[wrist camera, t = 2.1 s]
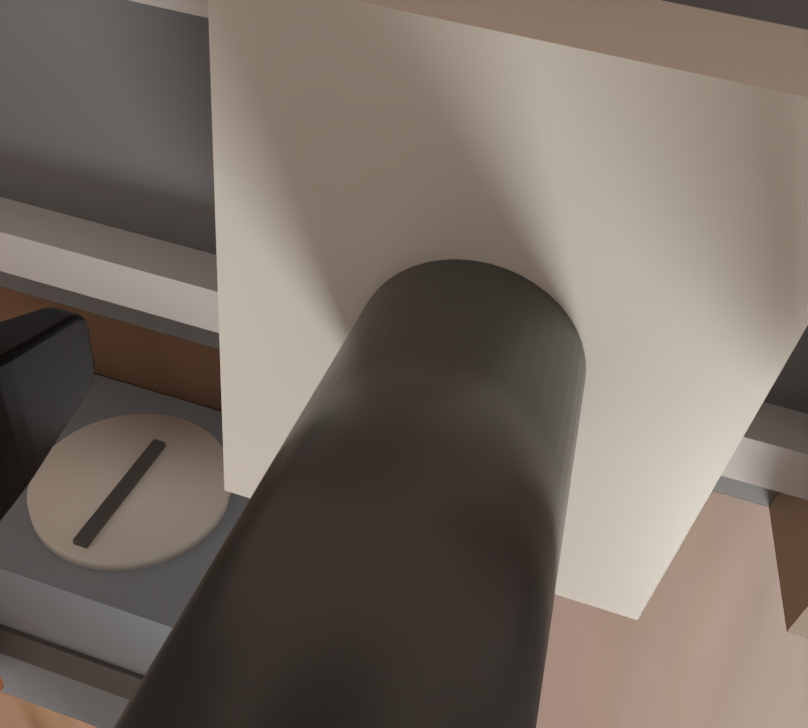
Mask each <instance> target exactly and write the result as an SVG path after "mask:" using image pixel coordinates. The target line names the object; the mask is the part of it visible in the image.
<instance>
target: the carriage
mask: <svg viewBox="0 0 808 728" xmlns="http://www.w3.org/2000/svg"><path fill="white" fill-rule="evenodd" d="M208 18H209V48H210V78H211V107H212V137H213V166H214V196H215V226H216V255H217V285H218V314H219V344H220V374H221V403H222V433H223V462H224V490H225V491H228V492H231V493H235V494H238V495H241V496H244V497H247V498H250V500H249V501H248V503H247V505H246V506H245V508H244V510H243V512H242V513H241V515H240V517H239V518H238V520H237V522H236V523H235V525H234V527H233V528H232V530H231V532H230V533H229V535H228V537H227V538H226V540H225V542H224V543H223V545H222V547H221V548H220V550H219V552H218V553H217V555H216V557H215V558H214V560H213V562H212V563H211V565H210V567H209V568H208V570H207V572H206V573H205V575H204V577H203V578H202V580H201V582H200V583H199V585H198V587H197V588H196V590H195V592H194V593H193V595H192V597H191V598H190V600H189V602H188V603H187V605H186V607H185V608H184V610H183V612H182V613H181V615H180V617H179V618H178V620H177V622H176V623H175V625H174V627H173V628H172V630H171V632H170V633H169V635H168V637H167V638H166V640H165V642H164V643H163V645H162V647H161V648H160V650H159V652H158V654H157V655H156V657H155V659H154V660H153V662H152V664H151V665H150V667H149V669H148V670H147V672H146V674H145V675H144V677H143V679H142V680H141V682H140V684H139V685H138V687H137V689H136V690H135V692H134V694H133V695H132V697H131V699H130V700H129V702H128V704H127V705H126V707H125V709H124V710H123V712H122V714H121V715H120V717H119V719H118V720H117V722H116V724H115V725H114V727H113V728H536V723H537V716H538V709H539V702H540V695H541V688H542V681H543V674H544V667H545V660H546V653H547V646H548V638H549V631H550V624H551V617H552V610H553V603H554V596H555V594H556V595H559V596H562V597H565V598H569V599H572V600H575V601H578V602H581V603H584V604H588V605H591V606H594V607H597V608H600V609H604V610H607V611H610V612H613V613H616V614H619V615H623V616H626V617H629V618H632V619H635V620H638V618H639V616H640V615H641V613H642V611H643V610H644V608H645V606H646V604H647V603H648V601H649V599H650V597H651V596H652V594H653V592H654V590H655V589H656V587H657V585H658V584H659V582H660V580H661V578H662V577H663V575H664V573H665V571H666V570H667V568H668V566H669V565H670V563H671V561H672V559H673V558H674V556H675V554H676V552H677V551H678V549H679V547H680V545H681V544H682V542H683V540H684V539H685V537H686V535H687V533H688V532H689V530H690V528H691V526H692V525H693V523H694V521H695V519H696V518H697V516H698V514H699V513H700V511H701V509H702V507H703V506H704V504H705V502H706V500H707V499H708V497H709V495H710V493H711V492H712V490H713V488H714V487H715V485H716V483H717V481H718V480H719V478H720V476H721V474H722V473H723V471H724V469H725V467H726V466H727V464H728V462H729V461H730V459H731V457H732V455H733V454H734V452H735V450H736V448H737V447H738V445H739V443H740V442H741V440H742V438H743V436H744V435H745V433H746V431H747V429H748V428H749V426H750V424H751V422H752V421H753V419H754V417H755V416H756V414H757V412H758V410H759V409H760V407H761V405H762V403H763V402H764V400H765V398H766V396H767V395H768V393H769V391H770V390H771V388H772V386H773V384H774V383H775V381H776V379H777V377H778V376H779V374H780V372H781V370H782V369H783V367H784V365H785V364H786V362H787V360H788V358H789V357H790V355H791V353H792V351H793V350H794V348H795V346H796V345H797V343H798V341H799V339H800V338H801V336H802V334H803V332H804V331H805V329H806V327H807V325H808V30H806V29H801V28H796V27H791V26H786V25H781V24H777V23H772V22H767V21H762V20H757V19H752V18H747V17H742V16H737V15H732V14H727V13H722V12H717V11H712V10H707V9H702V8H697V7H692V6H687V5H682V4H677V3H672V2H667V1H662V0H208Z"/></svg>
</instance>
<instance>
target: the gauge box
mask: <svg viewBox="0 0 808 728" xmlns="http://www.w3.org/2000/svg"><path fill="white" fill-rule="evenodd" d="M249 500H250V498H247V497H244V496H241V495H238V494H235V493H231V492H228V491H225V490H224V462H223V433H222V412H220V411H217V410H214V409H210V408H207V407H204V406H200V405H197V404H194V403H190V402H187V401H184V400H180V399H177V398H174V397H170V396H167V395H164V394H160V393H157V392H154V391H150V390H147V389H144V388H140V387H137V386H134V385H130V384H127V383H123V382H120V381H117V380H113V379H110V378H107V377H103V376H100V375H97V374H94V378H93V381H92V384H91V386H90V388H89V390H88V391H87V393H86V394H85V396H84V398H83V399H82V401H81V402H80V404H79V406H78V407H77V409H76V410H75V412H74V414H73V415H72V417H71V418H70V420H69V422H68V423H67V425H66V426H65V428H64V430H63V431H62V433H61V434H60V436H59V438H58V439H57V441H56V442H55V444H54V446H53V447H52V449H51V450H50V452H49V454H48V455H47V457H46V458H45V460H44V462H43V463H42V465H41V466H40V468H39V470H38V471H37V473H36V474H35V476H34V477H33V479H32V480H31V481H30V483H29V484H28V486H27V487H26V489H25V490H24V491H23V493H22V494H21V495H20V497H19V498H18V499H17V501H16V502H15V503H14V504H13V506H12V507H11V508H10V510H9V511H8V512H7V513H6V515H5V516H4V517H3V518H2V520H1V521H0V676H1V678H2V681H3V683H4V687H3V689H2V690H1V692H4V693H7V694H9V695H12V696H15V697H18V698H20V699H23V700H26V701H28V702H31V703H34V704H37V705H39V706H42V707H45V708H47V709H50V710H53V711H55V712H58V713H61V714H64V715H66V716H69V717H72V718H74V719H77V720H80V721H82V722H85V723H88V724H91V725H93V726H96V727H99V728H113V727H114V725H115V724H116V722H117V720H118V719H119V717H120V715H121V714H122V712H123V710H124V709H125V707H126V705H127V704H128V702H129V700H130V699H131V697H132V695H133V694H134V692H135V690H136V689H137V687H138V685H139V684H140V682H141V680H142V679H143V677H144V675H145V674H146V672H147V670H148V669H149V667H150V665H151V664H152V662H153V660H154V659H155V657H156V655H157V654H158V652H159V650H160V648H161V647H162V645H163V643H164V642H165V640H166V638H167V637H168V635H169V633H170V632H171V630H172V628H173V627H174V625H175V623H176V622H177V620H178V618H179V617H180V615H181V613H182V612H183V610H184V608H185V607H186V605H187V603H188V602H189V600H190V598H191V597H192V595H193V593H194V592H195V590H196V588H197V587H198V585H199V583H200V582H201V580H202V578H203V577H204V575H205V573H206V572H207V570H208V568H209V567H210V565H211V563H212V562H213V560H214V558H215V557H216V555H217V553H218V552H219V550H220V548H221V547H222V545H223V543H224V542H225V540H226V538H227V537H228V535H229V533H230V532H231V530H232V528H233V527H234V525H235V523H236V522H237V520H238V518H239V517H240V515H241V513H242V512H243V510H244V508H245V506H246V505H247V503H248V501H249Z"/></svg>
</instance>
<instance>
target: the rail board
mask: <svg viewBox="0 0 808 728" xmlns="http://www.w3.org/2000/svg"><path fill="white" fill-rule="evenodd" d="M662 1H667V2H672V3H677V4H682V5H687V6H692V7H697V8H702V9H707V10H712V11H717V12H722V13H727V14H732V15H737V16H742V17H747V18H752V19H757V20H762V21H767V22H772V23H777V24H781V25H786V26H791V27H796V28H801V29H806V30H808V0H662ZM0 287H4V288H7V289H10V290H14V291H17V292H21V293H24V294H28V295H31V296H35V297H38V298H42V299H45V300H49V301H52V302H56V303H59V304H63V305H66V306H70V307H73V308H77V309H80V310H84V311H87V312H91V313H94V314H98V315H101V316H105V317H108V318H112V319H115V320H118V321H122V322H125V323H129V324H132V325H136V326H139V327H143V328H146V329H150V330H153V331H157V332H160V333H164V334H167V335H171V336H174V337H178V338H181V339H185V340H188V341H192V342H195V343H199V344H202V345H206V346H209V347H213V348H216V349H220V344H219V314H218V285H217V255H216V226H215V196H214V166H213V137H212V107H211V78H210V48H209V18H208V0H0ZM712 491H714V492H718V493H721V494H725V495H728V496H732V497H735V498H739V499H742V500H746V501H749V502H753V503H756V504H759V505H763V506H766V507H769V510H770V517H771V524H772V531H773V538H774V545H775V552H776V559H777V566H778V573H779V580H780V587H781V594H782V601H783V608H784V615H785V622H786V629H787V632H789V633H793V634H796V635H799V636H802V637H805V638H808V325H807V327H806V329H805V331H804V332H803V334H802V336H801V338H800V339H799V341H798V343H797V345H796V346H795V348H794V350H793V351H792V353H791V355H790V357H789V358H788V360H787V362H786V364H785V365H784V367H783V369H782V370H781V372H780V374H779V376H778V377H777V379H776V381H775V383H774V384H773V386H772V388H771V390H770V391H769V393H768V395H767V396H766V398H765V400H764V402H763V403H762V405H761V407H760V409H759V410H758V412H757V414H756V416H755V417H754V419H753V421H752V422H751V424H750V426H749V428H748V429H747V431H746V433H745V435H744V436H743V438H742V440H741V442H740V443H739V445H738V447H737V448H736V450H735V452H734V454H733V455H732V457H731V459H730V461H729V462H728V464H727V466H726V467H725V469H724V471H723V473H722V474H721V476H720V478H719V480H718V481H717V483H716V485H715V487H714V488H713V490H712Z"/></svg>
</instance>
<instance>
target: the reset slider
mask: <svg viewBox="0 0 808 728" xmlns="http://www.w3.org/2000/svg"><path fill="white" fill-rule="evenodd" d="M3 687H4V683H3V681H2V678H1V676H0V691H1V690H2V689H3Z"/></svg>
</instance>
